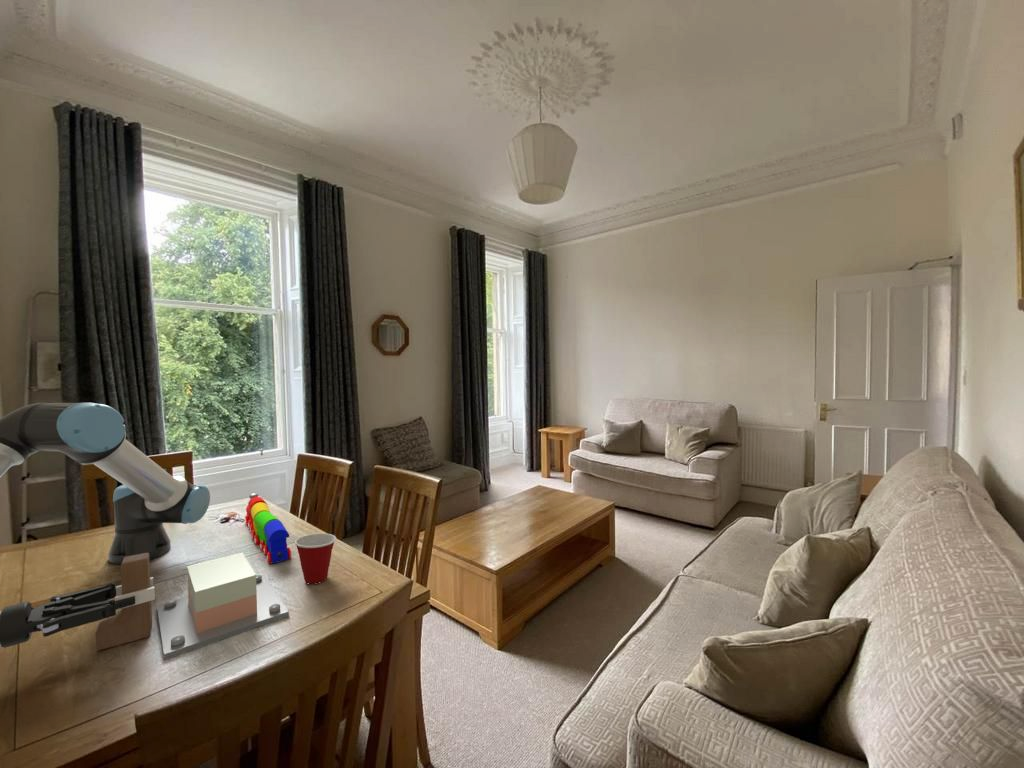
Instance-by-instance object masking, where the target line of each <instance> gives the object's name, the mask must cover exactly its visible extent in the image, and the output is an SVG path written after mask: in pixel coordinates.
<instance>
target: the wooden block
mask: <svg viewBox="0 0 1024 768" xmlns="http://www.w3.org/2000/svg"><path fill="white" fill-rule="evenodd" d="M150 564H151V563H150V559H149V553H143V554H137V555H132V556H127V557H124V559H123V561H122V563H121V564H120V575H121V578H120V580H121V585H122V595H124V594H128V593H131V592H135V591H139V590H143V589H147V588H150V578H151V568H150V567H151V566H150ZM152 618H153V617H152V600H151V601H148V602H144V603H141V604H137V605H133V606H130V607H126V608H123V609H120V611H119V612H117V613H116V615H114V616H112V617H109V618H106V619H103V620H100V622H99V623H98V626H97V627H96V630H95V646H96V651H97V652H98V651H102V650H105V649H110V648H114V647H117V646H120V645H121V646H122V645H123V644H127V643H131V642H135V641H139V640H142V639H146V638H149V637H151V634H152V628H153V619H152Z"/></svg>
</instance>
